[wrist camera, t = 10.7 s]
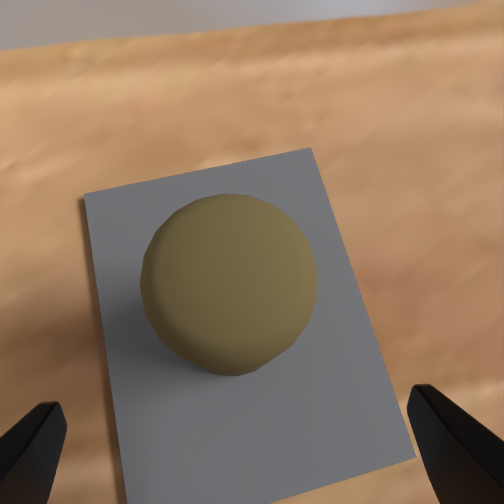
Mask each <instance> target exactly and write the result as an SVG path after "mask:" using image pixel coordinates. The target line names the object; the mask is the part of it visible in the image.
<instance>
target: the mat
mask: <svg viewBox="0 0 504 504" xmlns="http://www.w3.org/2000/svg"><path fill="white" fill-rule="evenodd" d="M218 194H237V195H249V196H252V197H254V198H257V199H260V200H263V201H265V202H268V203H271V204H273V205H274V206H276V207H277V208H278V209H280V210H281V211H282V212H284V213H285V214H286V215H288V216H289V217H290V218H292V219H293V220H294V221H295V223H296V224H297V226H298V227H299V228H300V230H301V231H302V233H303V234H304V235H305V237H306V238H307V240H308V241H309V244H310V247H311V250H312V253H313V256H314V259H315V262H316V265H317V299H316V302H315V305H314V308H313V311H312V314H311V317H310V320H309V323H308V325H307V326H306V327H305V329H304V330H303V331H302V333H301V334H300V335H299V337H298V338H297V339H296V341H295V342H294V343H293V345H292V346H291V347H290V348H288V349H287V350H285V351H284V352H282V353H281V354H279V355H278V356H277V357H275V358H274V359H272V360H271V361H270V362H268V363H267V364H265V365H264V366H262V367H261V368H259V369H258V370H256V371H254V372H251V373H247V374H244V375H240V376H225V375H218V374H215V373H213V372H210V371H208V370H205V369H203V368H202V367H200V366H199V365H196V364H194V363H191V362H189V361H186V360H184V359H182V358H180V357H179V356H178V355H177V354H176V353H174V352H173V351H172V350H171V349H170V348H169V347H168V346H166V345H165V344H164V343H163V342H162V341H161V340H160V339H159V338H158V336H157V334H156V333H155V331H154V329H153V327H152V326H151V324H150V322H149V320H148V319H147V317H146V315H145V311H144V306H143V301H142V295H141V290H140V278H141V271H142V264H143V257H144V254H145V252H146V250H147V248H148V246H149V244H150V242H151V240H152V238H153V236H154V233H155V231H156V230H157V229H158V228H159V227H160V226H161V225H162V224H163V223H164V222H165V221H166V220H167V219H168V218H169V217H170V216H171V215H172V214H173V213H174V212H175V211H177V210H179V209H180V208H182V207H184V206H186V205H188V204H189V203H191V202H193V201H195V200H197V199H200V198H205V197H209V196H214V195H218ZM84 200H85V207H86V214H87V221H88V228H89V235H90V242H91V249H92V256H93V263H94V271H95V278H96V285H97V292H98V299H99V306H100V313H101V320H102V327H103V335H104V342H105V349H106V356H107V363H108V370H109V377H110V384H111V391H112V399H113V406H114V413H115V420H116V427H117V434H118V441H119V448H120V455H121V462H122V470H123V477H124V484H125V491H126V498H127V504H269V503H272V502H275V501H278V500H282V499H285V498H288V497H291V496H294V495H298V494H301V493H304V492H307V491H310V490H313V489H317V488H320V487H323V486H326V485H329V484H333V483H336V482H339V481H342V480H345V479H349V478H352V477H355V476H358V475H361V474H365V473H368V472H371V471H374V470H377V469H380V468H384V467H387V466H390V465H393V464H396V463H400V462H403V461H406V460H409V459H412V458H416V454H415V452H414V449H413V446H412V443H411V440H410V437H409V434H408V431H407V428H406V425H405V422H404V419H403V416H402V413H401V411H400V408H399V405H398V402H397V399H396V396H395V393H394V390H393V387H392V384H391V381H390V378H389V375H388V372H387V370H386V367H385V364H384V361H383V358H382V355H381V352H380V349H379V346H378V343H377V340H376V337H375V334H374V331H373V328H372V326H371V323H370V320H369V317H368V314H367V311H366V308H365V305H364V302H363V299H362V296H361V293H360V290H359V287H358V285H357V282H356V279H355V276H354V273H353V270H352V267H351V264H350V261H349V258H348V255H347V252H346V249H345V246H344V244H343V241H342V238H341V235H340V232H339V229H338V226H337V223H336V220H335V217H334V214H333V211H332V208H331V205H330V203H329V200H328V197H327V194H326V191H325V188H324V185H323V182H322V179H321V176H320V173H319V170H318V167H317V164H316V162H315V159H314V156H313V153H312V150H311V148H306V149H301V150H296V151H291V152H287V153H282V154H277V155H272V156H267V157H262V158H257V159H252V160H247V161H243V162H238V163H233V164H228V165H223V166H218V167H213V168H208V169H204V170H199V171H194V172H189V173H184V174H179V175H174V176H169V177H164V178H160V179H155V180H150V181H145V182H140V183H135V184H130V185H125V186H121V187H116V188H111V189H106V190H101V191H96V192H91V193H86V194H84Z"/></svg>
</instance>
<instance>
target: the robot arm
mask: <svg viewBox="0 0 504 504" xmlns="http://www.w3.org/2000/svg"><path fill="white" fill-rule="evenodd" d="M407 414H408V417H409V421H410V424H411V427H412V430H413V433H414V436H415V439H416V442H417V445H418V448H419V451H420V454H421V457H422V460H423V463H424V466H425V469H426V472H427V475H428V477H429V480H430V482H431V484H432V487H433V489H434V491H435V494H436V496H437V498H438V500H439V503H440V504H504V441H503V440H502V439H500V438H499V437H498V436H496V435H495V434H494V433H493V432H491V431H490V430H489V429H487V428H486V427H485V426H484V425H482V424H481V423H480V422H478V421H477V420H476V419H475V418H473V417H472V416H471V415H469V414H468V413H467V412H466V411H464V410H463V409H462V408H460V407H459V406H458V405H457V404H455V403H454V402H453V401H451V400H450V399H449V398H448V397H446V396H445V395H444V394H442V393H441V392H440V391H439V390H437V389H436V388H435V387H433V386H432V385H430V384H416V385H414V386H413V387H412V390H411V393H410V397H409V400H408V404H407ZM66 432H67V423H66V420H65V417H64V414H63V411H62V408H61V405H60V403H59V402H56V401H51V402H41V403H39V404H38V405H37V406H35V407H34V408H33V409H32V410H31V411H30V412H29V413H27V414H26V415H25V416H24V417H23V418H22V419H21V420H20V421H18V422H17V423H16V424H15V425H14V426H13V427H12V428H10V429H9V430H8V431H7V432H6V433H5V434H4V435H3V436H1V437H0V504H47V502H48V499H49V495H50V492H51V488H52V485H53V481H54V477H55V474H56V470H57V466H58V462H59V458H60V455H61V451H62V447H63V443H64V440H65V436H66Z"/></svg>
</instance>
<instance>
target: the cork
mask: <svg viewBox="0 0 504 504" xmlns="http://www.w3.org/2000/svg"><path fill="white" fill-rule="evenodd" d="M140 290H141V295H142V301H143V306H144V311H145V315H146V317H147V319H148V320H149V322H150V324H151V326H152V327H153V329H154V331H155V333H156V334H157V336H158V338H159V339H160V340H161V341H162V342H163V343H164V344H165V345H166V346H168V347H169V348H170V349H171V350H172V351H173V352H174V353H176V354H177V355H178V356H179V357H180V358H182V359H184V360H186V361H189V362H191V363H194V364H196V365H199V366H200V367H202V368H203V369H205V370H208V371H210V372H213V373H215V374H218V375H225V376H240V375H244V374H247V373H251V372H254V371H256V370H258V369H259V368H261V367H262V366H264V365H265V364H267V363H268V362H270V361H271V360H272V359H274V358H275V357H277V356H278V355H279V354H281V353H282V352H284V351H285V350H287V349H288V348H290V347H291V346H292V345H293V343H294V342H295V341H296V339H297V338H298V337H299V335H300V334H301V333H302V331H303V330H304V329H305V327H306V326H307V325H308V323H309V320H310V317H311V314H312V311H313V308H314V305H315V302H316V299H317V265H316V262H315V259H314V256H313V253H312V250H311V247H310V244H309V241H308V240H307V238H306V237H305V235H304V234H303V233H302V231H301V230H300V228H299V227H298V226H297V224H296V223H295V221H294V220H293V219H292V218H290V217H289V216H288V215H286V214H285V213H284V212H282V211H281V210H280V209H278V208H277V207H276V206H274V205H273V204H271V203H268V202H265V201H263V200H260V199H257V198H254V197H252V196H249V195H237V194H218V195H214V196H209V197H205V198H200V199H197V200H195V201H193V202H191V203H189V204H188V205H186V206H184V207H182V208H180V209H179V210H177V211H175V212H174V213H173V214H172V215H171V216H170V217H169V218H168V219H167V220H166V221H165V222H164V223H163V224H162V225H161V226H160V227H159V228H158V229H157V230H156V231H155V233H154V236H153V238H152V240H151V242H150V244H149V246H148V248H147V250H146V252H145V254H144V257H143V264H142V271H141V278H140Z"/></svg>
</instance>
